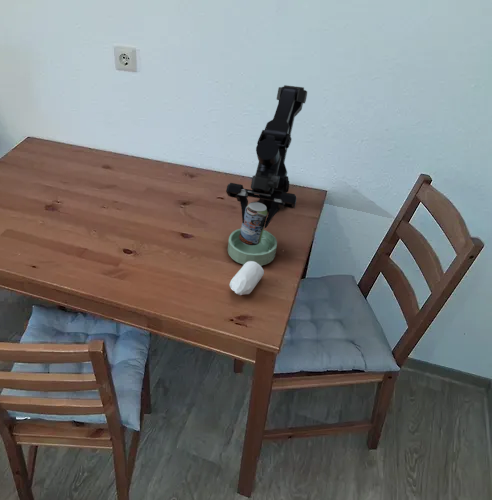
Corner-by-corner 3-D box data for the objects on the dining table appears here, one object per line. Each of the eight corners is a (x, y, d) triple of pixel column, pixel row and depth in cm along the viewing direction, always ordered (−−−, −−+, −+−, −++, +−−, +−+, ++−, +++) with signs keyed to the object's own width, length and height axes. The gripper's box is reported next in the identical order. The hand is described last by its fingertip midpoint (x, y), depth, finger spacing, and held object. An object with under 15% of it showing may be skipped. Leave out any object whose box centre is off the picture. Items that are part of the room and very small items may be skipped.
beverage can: (234, 241, 154) (236, 205, 147) (253, 232, 157) (257, 196, 150) (249, 251, 150) (252, 215, 142) (268, 242, 153) (273, 206, 145)
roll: (223, 298, 140) (224, 282, 136) (242, 273, 148) (244, 257, 144) (244, 306, 137) (246, 290, 134) (263, 281, 145) (265, 264, 142)
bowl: (259, 235, 162) (260, 223, 159) (284, 261, 152) (286, 248, 149) (219, 245, 158) (220, 233, 156) (242, 272, 148) (243, 259, 145)
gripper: (230, 156, 145) (216, 212, 143) (301, 168, 139) (287, 226, 137) (235, 169, 155) (222, 221, 154) (301, 180, 149) (288, 234, 148)
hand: (254, 225), depth 148 cm, fingers closed on beverage can, 6 cm apart
